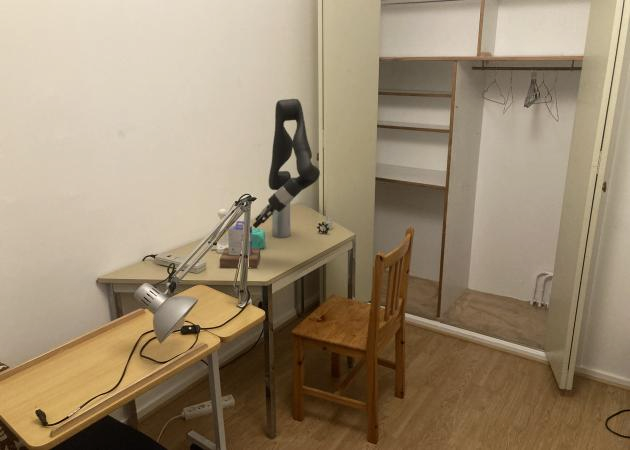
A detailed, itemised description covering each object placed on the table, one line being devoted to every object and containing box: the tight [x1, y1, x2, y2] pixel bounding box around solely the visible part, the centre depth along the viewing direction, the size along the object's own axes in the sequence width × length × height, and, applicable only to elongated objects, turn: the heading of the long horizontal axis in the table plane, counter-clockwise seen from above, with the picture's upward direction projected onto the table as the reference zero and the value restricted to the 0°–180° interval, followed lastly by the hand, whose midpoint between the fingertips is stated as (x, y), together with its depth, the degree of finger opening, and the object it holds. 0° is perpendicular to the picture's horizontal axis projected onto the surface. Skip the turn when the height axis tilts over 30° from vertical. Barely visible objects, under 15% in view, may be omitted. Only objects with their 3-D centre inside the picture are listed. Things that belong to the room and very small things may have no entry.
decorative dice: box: [252, 228, 266, 250], centre depth 256 cm, size 8×8×8 cm
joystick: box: [211, 208, 228, 254], centre depth 248 cm, size 11×8×20 cm
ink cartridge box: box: [227, 220, 253, 256], centre depth 234 cm, size 10×6×14 cm, turn 85°
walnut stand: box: [219, 248, 261, 269], centre depth 237 cm, size 14×16×4 cm
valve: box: [316, 216, 334, 235], centre depth 281 cm, size 7×7×12 cm
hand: (255, 223), depth 232 cm, fingers open, 8 cm apart
